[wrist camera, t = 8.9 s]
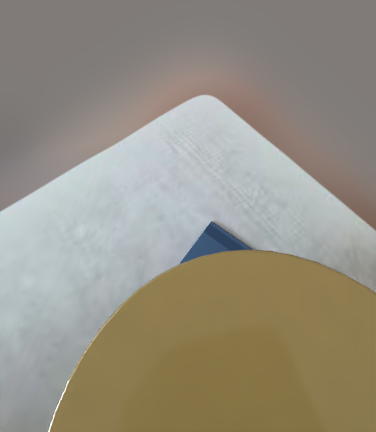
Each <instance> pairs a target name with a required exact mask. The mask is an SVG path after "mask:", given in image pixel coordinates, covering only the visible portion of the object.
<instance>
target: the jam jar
mask: <svg viewBox="0 0 376 432" xmlns="http://www.w3.org/2000/svg"><path fill="white" fill-rule="evenodd" d="M48 432H376V293H375V292H373V291H372V290H370V289H369V288H367V287H366V286H364V285H362V284H360V283H359V282H357V281H355V280H353V279H351V278H350V277H348V276H346V275H344V274H342V273H341V272H338V271H336V270H334V269H331V268H329V267H327V266H324V265H322V264H320V263H317V262H314V261H311V260H308V259H304V258H301V257H298V256H294V255H290V254H284V253H279V252H273V251H263V250H236V251H224V252H219V253H214V254H210V255H205V256H201V257H198V258H195V259H192V260H190V261H187V262H184V263H181V264H179V265H177V266H175V267H173V268H171V269H169V270H167V271H165V272H164V273H162V274H160V275H158V276H157V277H155V278H154V279H152V280H151V281H149V282H148V283H147V284H145V285H144V286H142V287H141V288H139V289H138V290H137V291H136V292H135V293H134V294H133V295H131V296H130V297H129V298H128V299H127V300H126V301H125V302H124V303H123V304H121V305H120V306H119V307H118V309H117V310H116V311H115V312H114V313H113V314H112V315H111V316H110V318H109V319H108V320H107V321H106V322H105V323H104V324H103V326H102V327H101V328H100V329H99V331H98V332H97V334H96V335H95V337H94V338H93V339H92V341H91V342H90V344H89V345H88V347H87V348H86V349H85V351H84V353H83V354H82V356H81V358H80V360H79V362H78V363H77V365H76V367H75V369H74V371H73V372H72V374H71V376H70V378H69V380H68V382H67V384H66V387H65V389H64V391H63V393H62V396H61V398H60V400H59V403H58V405H57V407H56V410H55V412H54V414H53V417H52V421H51V424H50V427H49V430H48Z"/></svg>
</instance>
